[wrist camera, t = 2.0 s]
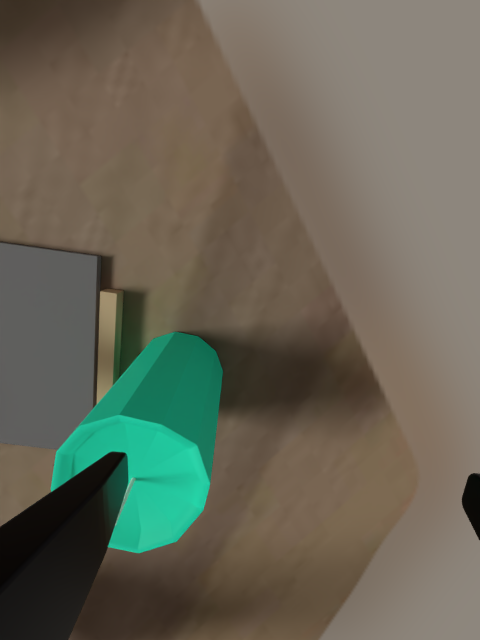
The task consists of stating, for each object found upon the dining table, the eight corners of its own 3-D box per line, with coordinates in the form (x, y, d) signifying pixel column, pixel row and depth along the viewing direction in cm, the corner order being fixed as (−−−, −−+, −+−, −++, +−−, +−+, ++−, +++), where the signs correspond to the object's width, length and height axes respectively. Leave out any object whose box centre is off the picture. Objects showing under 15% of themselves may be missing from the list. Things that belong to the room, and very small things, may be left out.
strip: (116, 426, 23) (110, 436, 22) (102, 425, 23) (95, 435, 22) (123, 290, 21) (116, 293, 19) (107, 288, 20) (100, 291, 19)
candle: (169, 426, 23) (99, 618, 11) (118, 361, 22) (-21, 501, 10) (239, 385, 22) (241, 545, 11) (190, 314, 21) (130, 409, 9)
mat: (94, 448, 23) (91, 453, 23) (-59, 430, 23) (-67, 435, 22) (101, 255, 20) (97, 256, 19) (-79, 230, 20) (-89, 230, 19)
